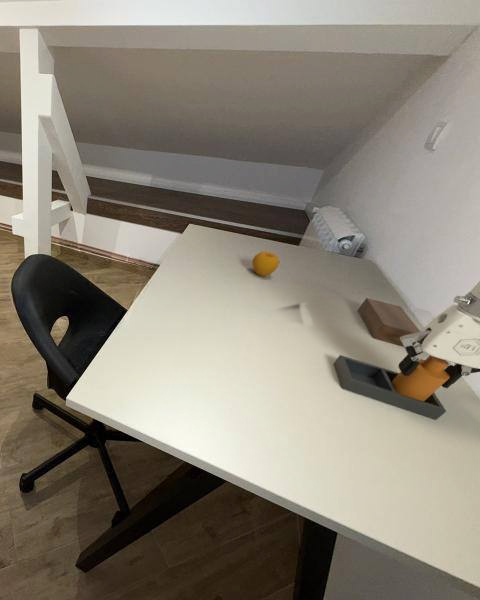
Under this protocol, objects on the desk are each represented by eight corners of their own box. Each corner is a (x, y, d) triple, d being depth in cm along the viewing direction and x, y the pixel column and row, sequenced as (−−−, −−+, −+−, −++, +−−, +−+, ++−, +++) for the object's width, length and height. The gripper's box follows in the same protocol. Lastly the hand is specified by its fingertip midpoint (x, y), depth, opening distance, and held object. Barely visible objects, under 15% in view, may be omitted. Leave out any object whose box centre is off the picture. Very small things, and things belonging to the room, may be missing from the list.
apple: (243, 270, 120) (252, 249, 115) (258, 267, 123) (268, 247, 118) (260, 281, 113) (271, 259, 108) (277, 278, 116) (288, 257, 111)
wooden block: (390, 319, 99) (400, 306, 97) (410, 348, 87) (423, 335, 84) (357, 310, 102) (366, 297, 99) (372, 337, 90) (383, 324, 87)
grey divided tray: (331, 365, 78) (339, 354, 76) (416, 392, 73) (426, 381, 71) (340, 390, 71) (349, 379, 69) (433, 421, 66) (446, 411, 64)
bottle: (412, 392, 72) (450, 356, 65) (424, 411, 67) (465, 375, 61) (381, 382, 74) (415, 346, 67) (390, 400, 69) (427, 363, 63)
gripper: (441, 305, 57) (379, 373, 67) (572, 337, 51) (483, 406, 61) (423, 287, 62) (368, 352, 72) (539, 314, 57) (463, 380, 67)
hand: (422, 376), depth 67 cm, fingers closed on bottle, 6 cm apart
